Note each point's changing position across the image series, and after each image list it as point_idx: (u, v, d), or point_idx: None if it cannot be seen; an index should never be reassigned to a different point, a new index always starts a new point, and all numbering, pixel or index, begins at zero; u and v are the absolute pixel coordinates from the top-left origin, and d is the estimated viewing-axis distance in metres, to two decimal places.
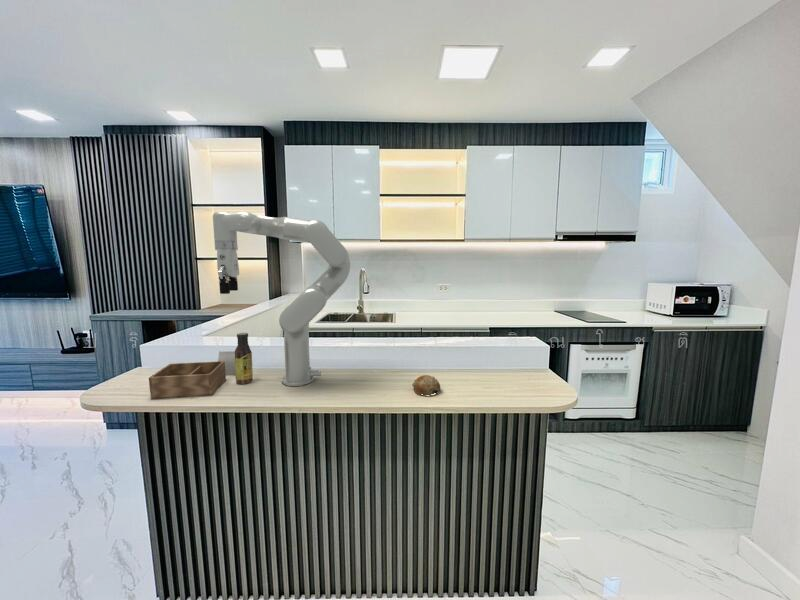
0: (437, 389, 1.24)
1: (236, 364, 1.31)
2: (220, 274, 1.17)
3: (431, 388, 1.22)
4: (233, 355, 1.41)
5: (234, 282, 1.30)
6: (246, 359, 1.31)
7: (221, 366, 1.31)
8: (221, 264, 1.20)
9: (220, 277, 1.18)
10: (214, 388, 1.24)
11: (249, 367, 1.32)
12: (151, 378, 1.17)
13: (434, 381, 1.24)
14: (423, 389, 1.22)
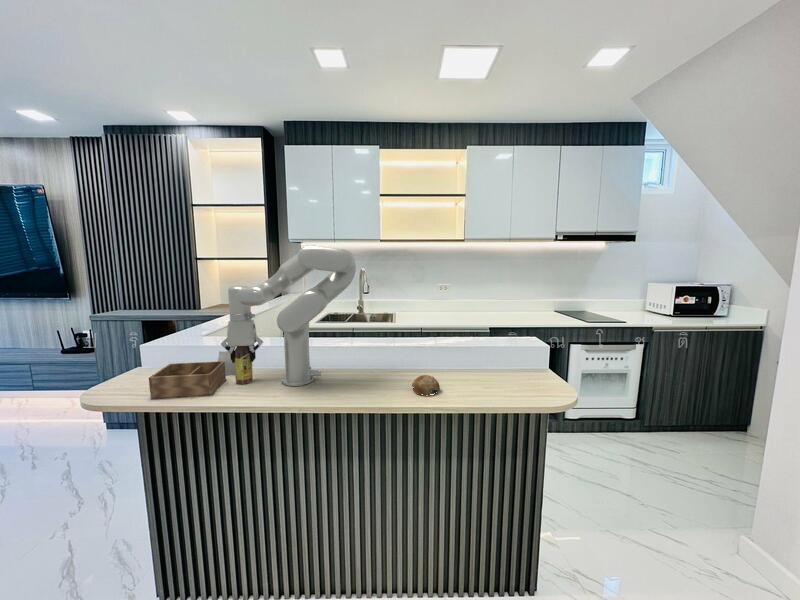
0: (436, 389, 1.24)
1: (236, 364, 1.31)
2: None
3: (430, 388, 1.22)
4: None
5: None
6: (246, 358, 1.31)
7: (221, 366, 1.31)
8: (254, 334, 1.32)
9: None
10: (214, 388, 1.24)
11: (249, 367, 1.32)
12: (151, 378, 1.17)
13: (433, 381, 1.24)
14: (422, 389, 1.22)
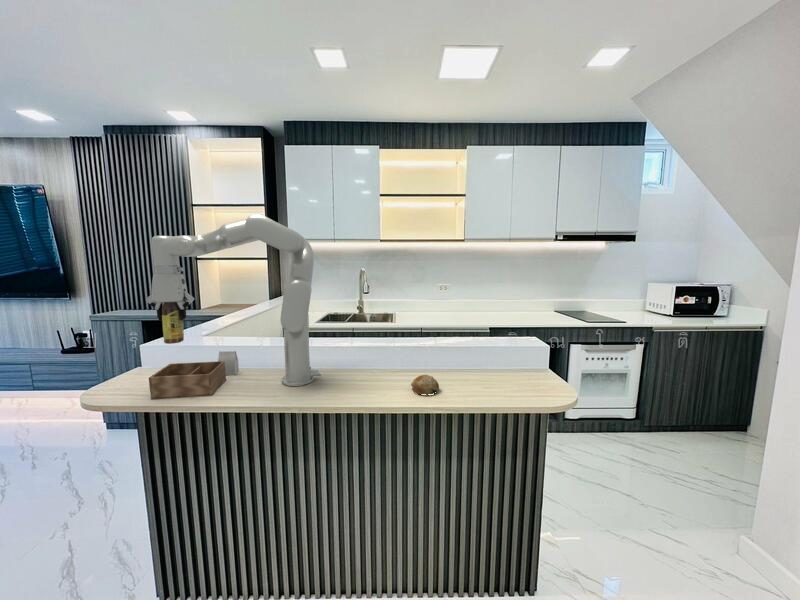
0: (436, 389, 1.24)
1: (163, 322, 1.20)
2: None
3: (430, 387, 1.22)
4: (233, 355, 1.41)
5: None
6: (174, 316, 1.20)
7: (221, 366, 1.31)
8: (183, 290, 1.21)
9: (189, 303, 1.22)
10: (214, 388, 1.24)
11: (178, 326, 1.21)
12: (151, 378, 1.17)
13: (433, 381, 1.24)
14: (421, 388, 1.22)
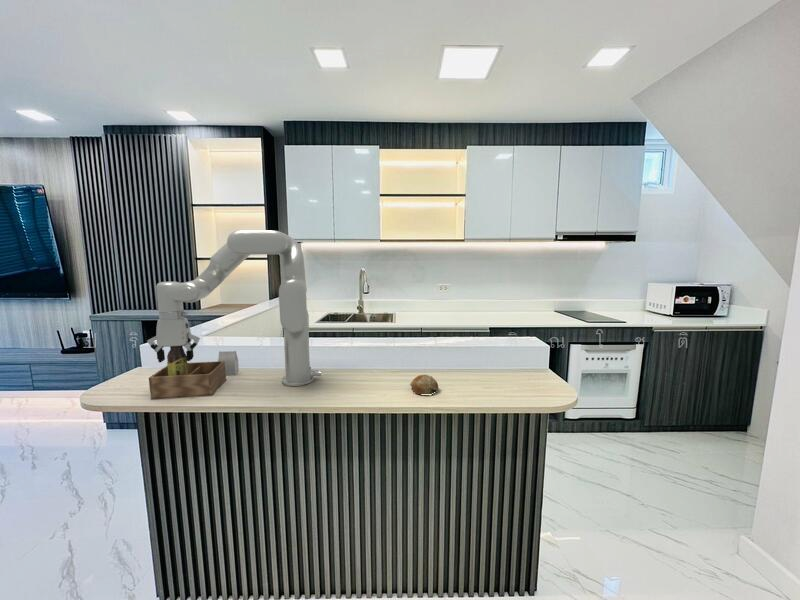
0: (435, 389, 1.24)
1: (168, 369, 1.22)
2: (198, 341, 1.25)
3: (429, 387, 1.22)
4: (233, 355, 1.41)
5: (163, 352, 1.24)
6: (179, 363, 1.23)
7: (221, 366, 1.31)
8: (187, 332, 1.23)
9: (196, 344, 1.25)
10: (214, 388, 1.24)
11: (183, 372, 1.24)
12: (151, 378, 1.17)
13: (432, 381, 1.24)
14: (420, 388, 1.22)
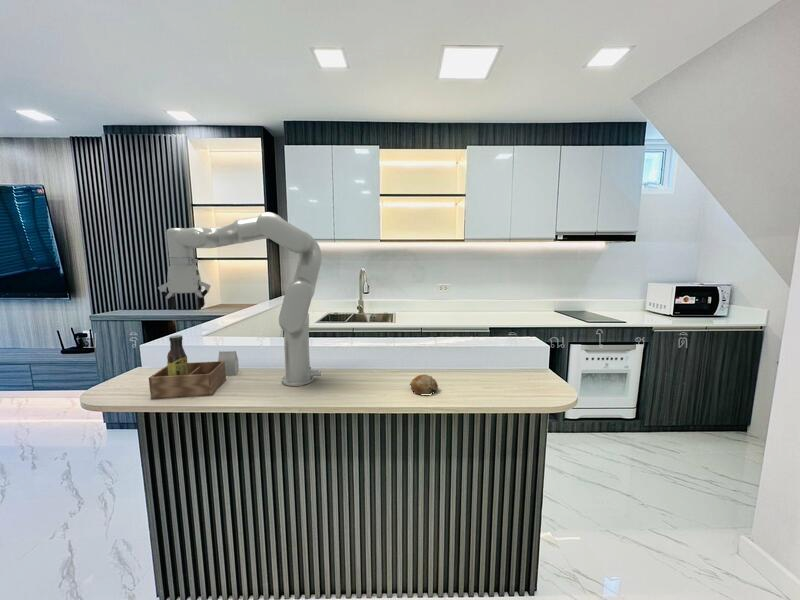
0: (435, 388, 1.24)
1: (168, 369, 1.22)
2: (209, 288, 1.26)
3: (428, 387, 1.22)
4: (233, 355, 1.41)
5: (174, 299, 1.25)
6: (179, 363, 1.23)
7: (221, 366, 1.31)
8: (198, 279, 1.24)
9: (207, 291, 1.26)
10: (214, 388, 1.24)
11: (183, 372, 1.24)
12: (151, 378, 1.17)
13: (432, 380, 1.25)
14: (420, 388, 1.22)
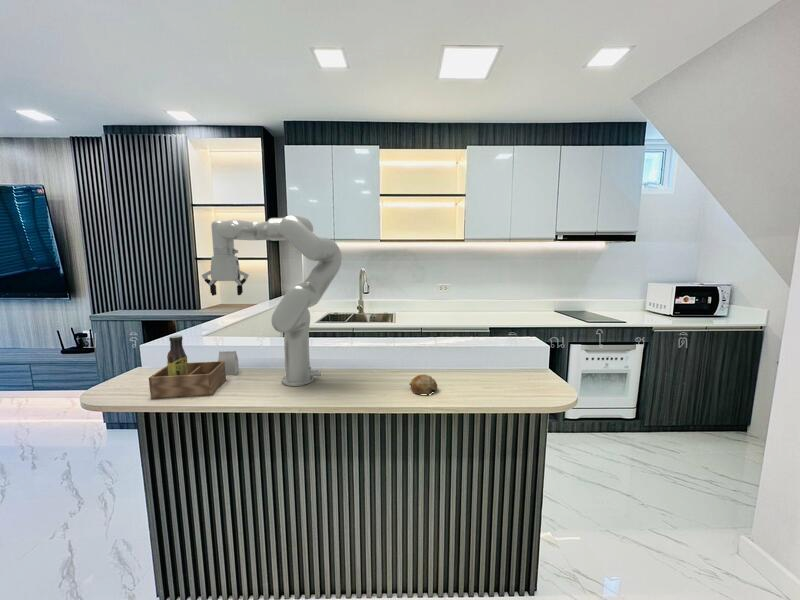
0: (434, 388, 1.24)
1: (168, 369, 1.22)
2: (247, 277, 1.36)
3: (428, 387, 1.22)
4: (233, 355, 1.41)
5: (215, 287, 1.35)
6: (179, 363, 1.23)
7: (221, 366, 1.31)
8: (238, 269, 1.35)
9: (246, 279, 1.36)
10: (214, 388, 1.24)
11: (183, 372, 1.24)
12: (151, 378, 1.17)
13: (431, 380, 1.25)
14: (420, 388, 1.22)
